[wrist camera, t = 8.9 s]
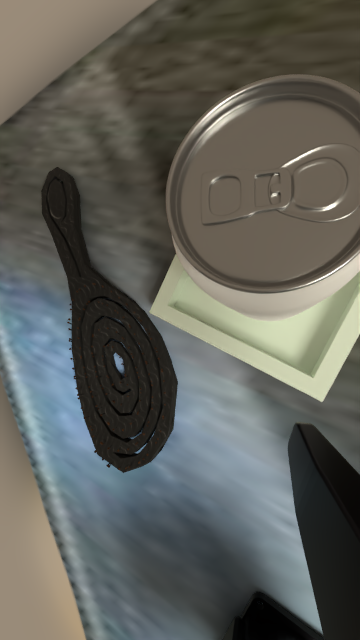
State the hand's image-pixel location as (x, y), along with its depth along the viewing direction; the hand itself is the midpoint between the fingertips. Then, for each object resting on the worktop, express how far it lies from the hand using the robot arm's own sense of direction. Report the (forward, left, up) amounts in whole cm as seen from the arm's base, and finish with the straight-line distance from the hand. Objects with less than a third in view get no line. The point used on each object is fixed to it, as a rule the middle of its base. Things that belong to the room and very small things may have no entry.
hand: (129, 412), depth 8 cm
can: (-1, -7, -12) cm, 14 cm away
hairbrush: (+10, 0, -13) cm, 17 cm away
